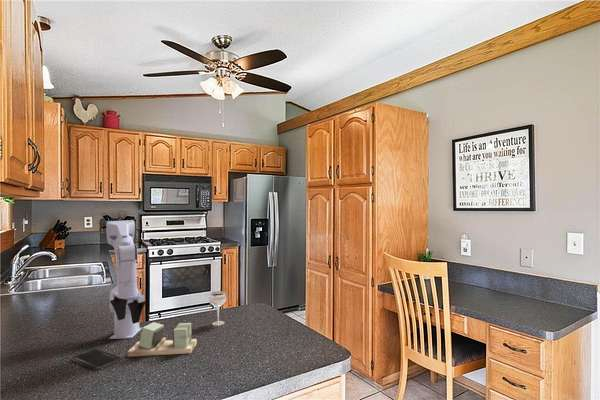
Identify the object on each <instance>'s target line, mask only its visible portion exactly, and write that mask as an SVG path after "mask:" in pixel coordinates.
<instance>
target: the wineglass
mask: <svg viewBox="0 0 600 400" xmlns="http://www.w3.org/2000/svg"><path fill="white" fill-rule="evenodd" d="M226 294H227V292H226V291H223V290H222V291H221V290H219V291H213V292H209V294H208V295H209V299H208V300H209V301H208V302H209V304H211V305H212V306H213V307H215V308H216V310H217V311H216V315H217V320H216V321H214V322H212V325H213V326H223V325H224V324H225V323H226V322H225V321H222V320H220V307H221V306H223V305H224V304H225V303H226V301H227V296H226Z"/></svg>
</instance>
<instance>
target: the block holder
mask: <svg viewBox="0 0 600 400" xmlns="http://www.w3.org/2000/svg"><path fill="white" fill-rule="evenodd" d="M139 342H140V341H137V342H135V344H134V345H133V346H132V347H130V348H129V350H128V351H127V357H143V356H147V357H148V356H161V355H162V356H163V355H164V356H165V355H180V354H181V355H184V354H185V355H186V354H192V352H193V351H194V348H195V347H196V345H197V344H198V340H197V338H192V322H182V323H181V322H179V323H178V324H177V325H176V326H175V327H174V329H173V330H172V339H168V340H167V337H162V340H161V341H160V342H159V343H158V344H157V345H155V346H154V347H152V348H150V349H148V348H145V347H142V346H139Z"/></svg>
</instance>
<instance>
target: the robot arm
mask: <svg viewBox="0 0 600 400" xmlns="http://www.w3.org/2000/svg"><path fill="white" fill-rule="evenodd" d="M105 227H106V228H105V229H106V230H105V231H106V232H105V233H106V242H107V244H108V245H110V246H112V247H113V250H114V254H115V269H116V270H115V271H116V286H115V287H113V288H112V289H110V291H109V297H108V298H109V302H108V303H109V311H110V313H113V325H114V328H113V331H114V332H113V335H111V336H110V337H109V340H115V339H116V340H117V339H119V340H120V339H121V340H122V339H132V338H133V337H134V336H136V335H137V334H138V333H139V332H140V331H142V328H143V327H140V320H141V315H142V312H143V309H144V307H145V306H146V304H147V300H146V299H145V294H142V293H141V291H139V288H138V278H137V273H138V272H137V271H138V270H137V262H138V259H139V257H138V256H139V250H138V245H137V244H136V243H134V239H135V232H136V228H135V227H136V226H135V221H134V220H133V219H130V220H128V219H127V220H107V221H106V226H105Z"/></svg>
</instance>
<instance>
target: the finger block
mask: <svg viewBox="0 0 600 400" xmlns="http://www.w3.org/2000/svg"><path fill="white" fill-rule="evenodd" d="M141 328H142V329H141V332H140V333H141V334H140V337H139V338H140V339H139V341H138V342H139V346H142V347H145V348H148V349H150V348H152V347H154V346H155V345H157V344H158V343H159V342H160V341H161V340H162V339H163V336H164V335H163V334H164V330H165V324H161V323H159V322H154V321H152V322H151V323H149V324H147V325H144V326H143V327H141Z"/></svg>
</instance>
